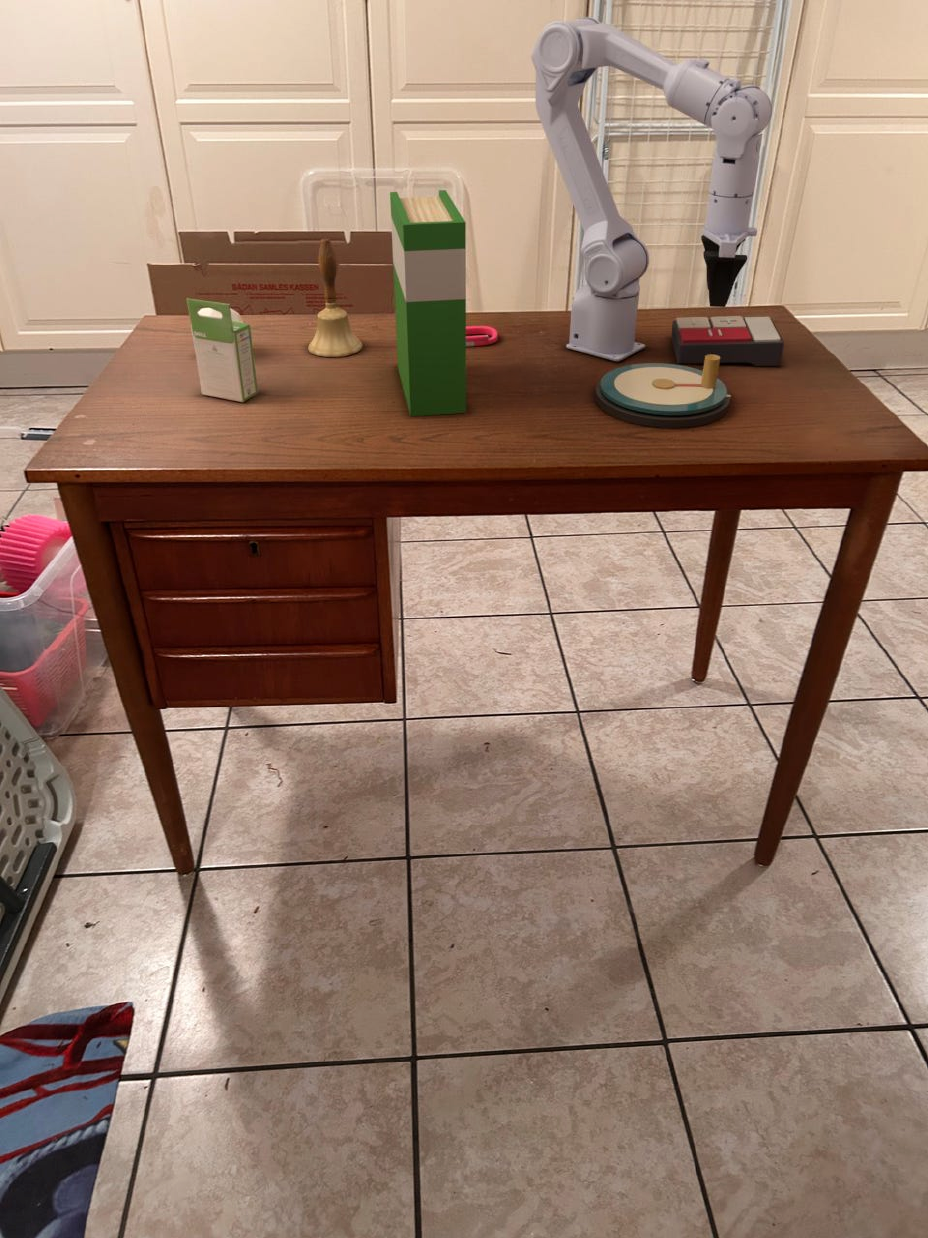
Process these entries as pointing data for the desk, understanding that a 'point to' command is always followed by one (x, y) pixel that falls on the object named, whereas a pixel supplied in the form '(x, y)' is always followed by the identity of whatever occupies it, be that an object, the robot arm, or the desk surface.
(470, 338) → the fitness band
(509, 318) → the desk surface
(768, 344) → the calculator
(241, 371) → the ink box
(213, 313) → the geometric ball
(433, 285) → the hardback book
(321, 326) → the hand bell
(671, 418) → the stand
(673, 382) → the turntable with peg
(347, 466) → the desk surface
